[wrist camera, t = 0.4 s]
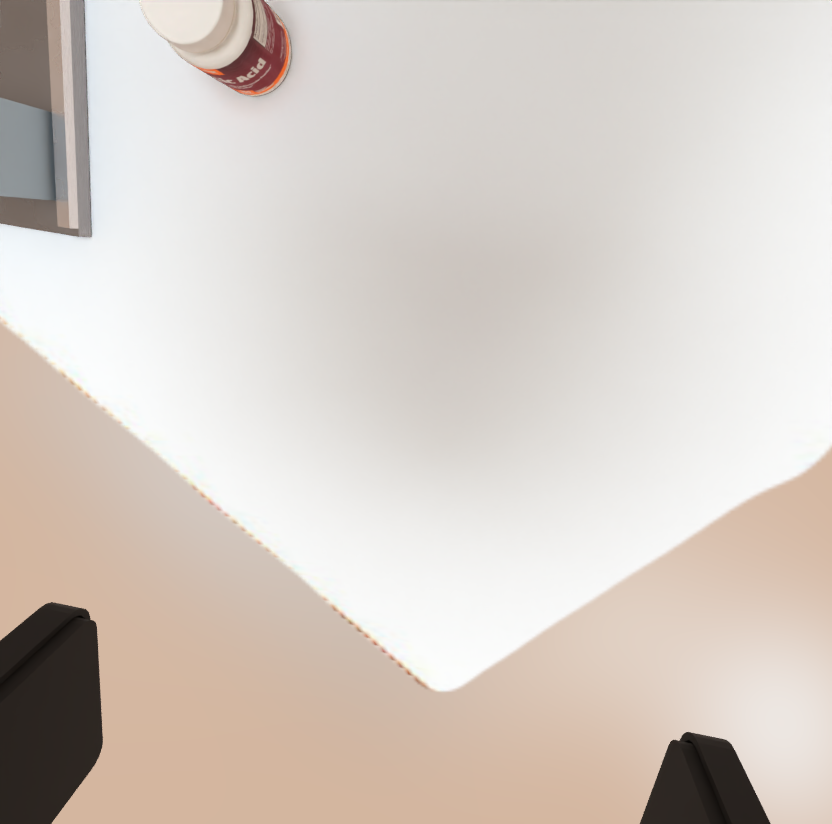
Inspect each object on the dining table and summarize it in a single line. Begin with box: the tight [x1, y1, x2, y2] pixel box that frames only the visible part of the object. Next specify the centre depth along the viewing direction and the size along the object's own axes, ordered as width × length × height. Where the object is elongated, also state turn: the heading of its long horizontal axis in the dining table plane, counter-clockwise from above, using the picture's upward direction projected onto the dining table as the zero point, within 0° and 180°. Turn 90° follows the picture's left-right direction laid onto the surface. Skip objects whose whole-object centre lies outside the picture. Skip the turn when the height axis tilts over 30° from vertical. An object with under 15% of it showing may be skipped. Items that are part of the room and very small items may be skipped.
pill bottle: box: [139, 0, 291, 96], centre depth 28 cm, size 5×5×8 cm
